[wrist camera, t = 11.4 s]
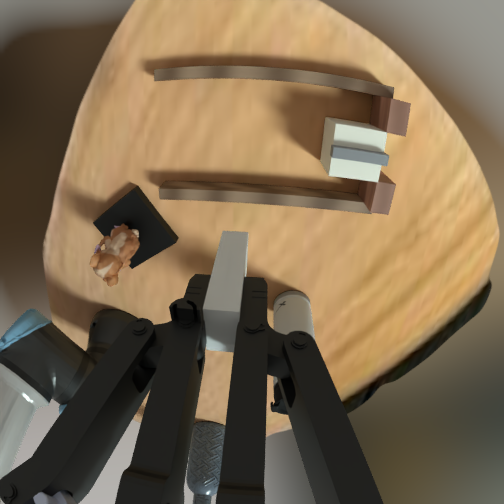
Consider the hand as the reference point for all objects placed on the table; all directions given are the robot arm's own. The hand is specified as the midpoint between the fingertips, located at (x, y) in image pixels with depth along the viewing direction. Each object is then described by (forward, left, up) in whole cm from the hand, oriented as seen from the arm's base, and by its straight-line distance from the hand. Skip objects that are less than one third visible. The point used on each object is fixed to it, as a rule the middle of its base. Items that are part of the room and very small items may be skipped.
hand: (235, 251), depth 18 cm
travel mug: (+8, -25, -23) cm, 34 cm away
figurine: (-18, -12, -23) cm, 31 cm away
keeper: (+12, +3, -22) cm, 25 cm away
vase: (-9, -83, -23) cm, 87 cm away
